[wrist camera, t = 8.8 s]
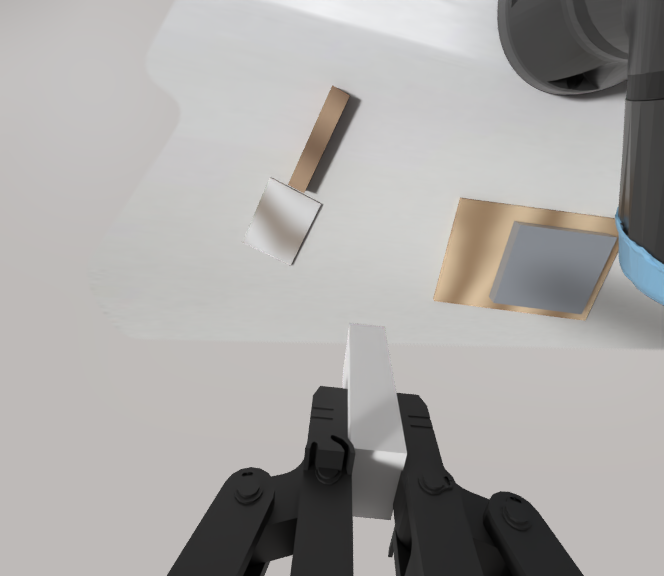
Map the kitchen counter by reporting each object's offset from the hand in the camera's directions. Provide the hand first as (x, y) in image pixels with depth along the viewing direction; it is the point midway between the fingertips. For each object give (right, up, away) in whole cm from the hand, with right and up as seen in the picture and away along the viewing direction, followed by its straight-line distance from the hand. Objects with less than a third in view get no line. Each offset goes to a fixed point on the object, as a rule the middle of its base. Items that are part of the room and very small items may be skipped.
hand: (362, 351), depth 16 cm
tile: (+17, +5, +24) cm, 30 cm away
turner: (-5, +14, +23) cm, 27 cm away
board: (+20, +6, +26) cm, 33 cm away
